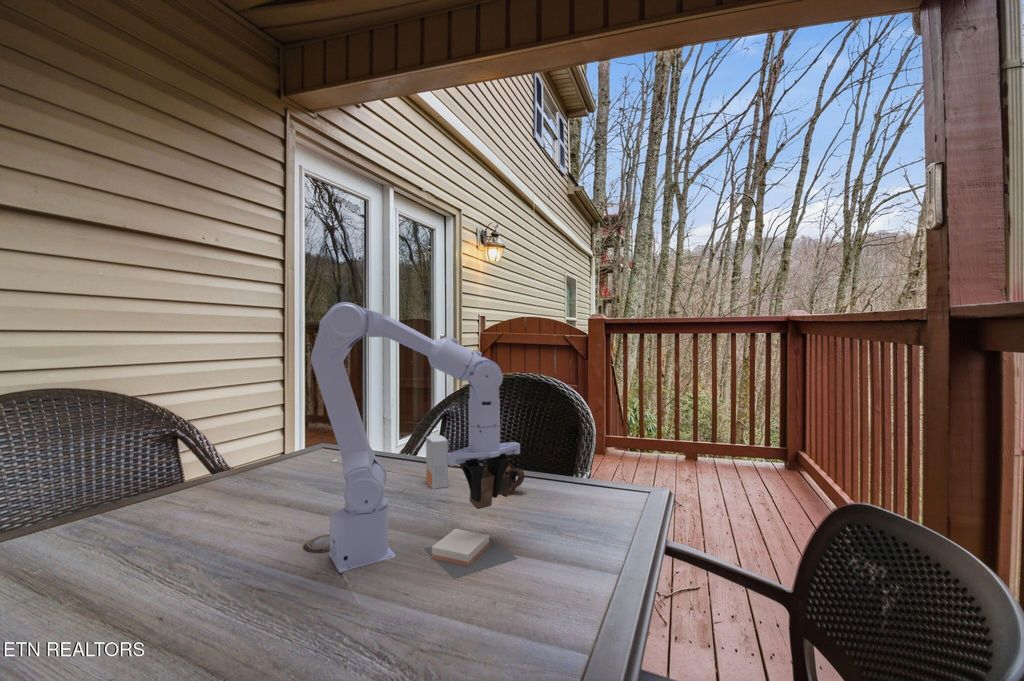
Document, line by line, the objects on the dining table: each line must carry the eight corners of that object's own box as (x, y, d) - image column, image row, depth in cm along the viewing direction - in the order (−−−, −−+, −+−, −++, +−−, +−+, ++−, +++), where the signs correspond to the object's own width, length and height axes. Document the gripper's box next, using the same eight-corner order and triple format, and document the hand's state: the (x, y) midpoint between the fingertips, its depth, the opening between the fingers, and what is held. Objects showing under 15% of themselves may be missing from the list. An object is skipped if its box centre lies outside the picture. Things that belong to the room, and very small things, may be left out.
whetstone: (431, 558, 80) (468, 566, 77) (431, 547, 80) (468, 554, 77) (455, 539, 88) (489, 546, 85) (455, 528, 87) (489, 535, 85)
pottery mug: (473, 498, 112) (472, 463, 116) (490, 503, 120) (488, 471, 124) (519, 491, 108) (517, 455, 112) (534, 497, 116) (531, 463, 120)
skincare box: (425, 482, 122) (425, 436, 121) (441, 480, 124) (441, 434, 123) (431, 489, 116) (431, 441, 116) (448, 487, 118) (448, 439, 118)
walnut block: (477, 509, 86) (480, 478, 84) (469, 501, 88) (472, 471, 87) (491, 505, 87) (494, 475, 86) (483, 497, 90) (486, 468, 88)
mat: (454, 582, 74) (454, 578, 74) (424, 551, 84) (424, 548, 84) (517, 561, 80) (517, 558, 80) (482, 535, 90) (482, 532, 90)
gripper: (458, 433, 79) (459, 513, 79) (529, 423, 87) (529, 496, 87) (440, 426, 84) (441, 501, 85) (508, 417, 92) (508, 485, 93)
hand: (484, 498), depth 86 cm, fingers closed on walnut block, 3 cm apart
